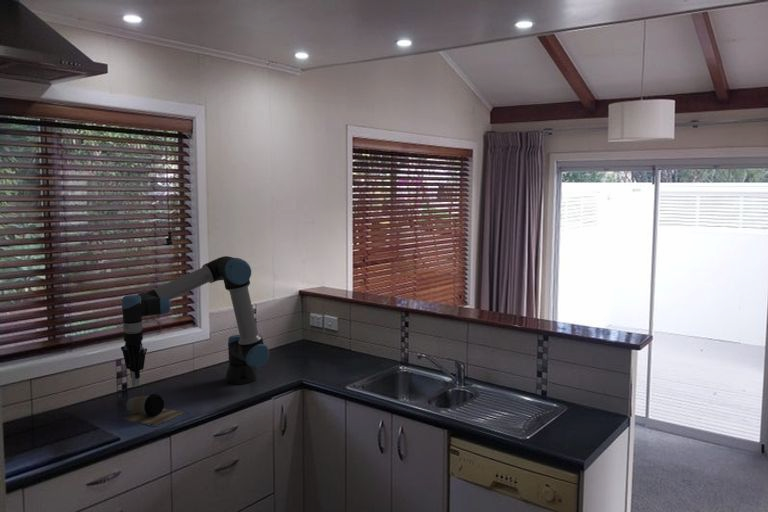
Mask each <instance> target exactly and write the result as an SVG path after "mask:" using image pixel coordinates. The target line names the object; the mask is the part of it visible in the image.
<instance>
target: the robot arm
mask: <svg viewBox="0 0 768 512" xmlns="http://www.w3.org/2000/svg"><path fill="white" fill-rule="evenodd" d="M251 268H252V267H251V266H250V263H248V262H247V261H246V260H244V259H242V258H241V257H232V256H228V255H227V256H226V255H224V256H221V257H218V258H214V259H213V260H211V261H209V262H207V263H204V264H202V266H201V268H198V269H196V270H193V271H191V272H189V273H186V274H185V275H183V276H180V277H179V278H176V279H174V280H172V281H169V282H167V283H165V284H162V285H160V286H158V287H156V288H154V289H151V290H149V291H147V292H146V291H145V292H140V293H137V294H129V295H128V294H127V295H125V296H123V297H122V299H121V309H122V311H121V312H122V329H123V332H124V333H123V342H124V345H122V346H121V347H120V350H121V351H122V355H123V359H124V363H125V364H124V365H125V368H126V369H127V370H129V371H130V378H131V387H133V388H134V387H135V388H136V387H138V386H140V379H141V377H140V376H141V375H140V374H141V373H140V371H143V370H144V366H145V359H146V354H147V351H148V348H144V347H143V343H142V341H143V340H144V334H143V317H152V316H159V315H164V314H168V313H169V312H170V310H171V301H170V300H173V299H175V298H178V297H179V296H181V295H184V294H186V293H188V292H190V291H193V290H195V289H197V288H199V287H202V286H204V285H206V284H208V283H209V284H213V283H215V282H219V281H223V283H224V288H225V290H226V291H228V292H229V295H230V299H231V304H232V307H233V313H234V316H235V321H236V324H237V329H238V333H239V334H234V335H230V336H229V337H228V340H227V348H228V352H227V353H228V367H227V372H226V374H225V382H226V383H227V384H230V385H245V384H250V383H253V382H255V381H257V372H256V370H255V368H261V367H263V365H265V364H266V363H267V361H268V360H269V358H270V349H269V348H268V346H267V345H266V344H264V340H263V336H262V335H261V334H260V333H259V331H258V327H257V323H256V319H255V314H254V310H253V305H252V301H251V295H250V292H249V291H250V290H249V286H250V285H251V281H250V279H251V277H252V269H251Z"/></svg>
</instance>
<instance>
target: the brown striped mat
mask: <svg viewBox="0 0 768 512" xmlns="http://www.w3.org/2000/svg"><path fill="white" fill-rule="evenodd" d="M183 413H185V412H184V411H180V410H174V409H169V408H165V407H164V408H163V410H162V412H161V413H160V414H159V415H157V416H155V417H150V416H148V415H143V414H138V413H135V412H134V413H133V414H130V415H128V416H126V417H123V418H122V419H123V421H128V422H133V423H137V422H138V424H142V423H143V424H142V425H146V424H150V425H149V426H151V425H155V426H154V427H158V426H160V425H162V424H161V423H163V422H165V423H167V422H168V420H169V421H170V419H171V420H173V419H175V418H177V417H179V416H182V415H183ZM178 415H179V416H178ZM174 417H175V418H174ZM172 418H173V419H172ZM166 421H167V422H166ZM159 424H160V425H159ZM163 424H164V423H163ZM157 425H158V426H157Z"/></svg>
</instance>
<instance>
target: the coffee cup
mask: <svg viewBox="0 0 768 512" xmlns="http://www.w3.org/2000/svg"><path fill="white" fill-rule="evenodd" d="M164 401H165V400H164V399H163V397H162V396H161V395H159V394H157V393H152V394H149V395H144V396H137V397H131V398H128V400H127V401H126V410H127V411H128V412H131V413H134V414H135V413H138V414H143V415H148V416H150V417H155V416H157V415H159V414H160V413H161V412H162V410H163V408H165V402H164Z"/></svg>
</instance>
